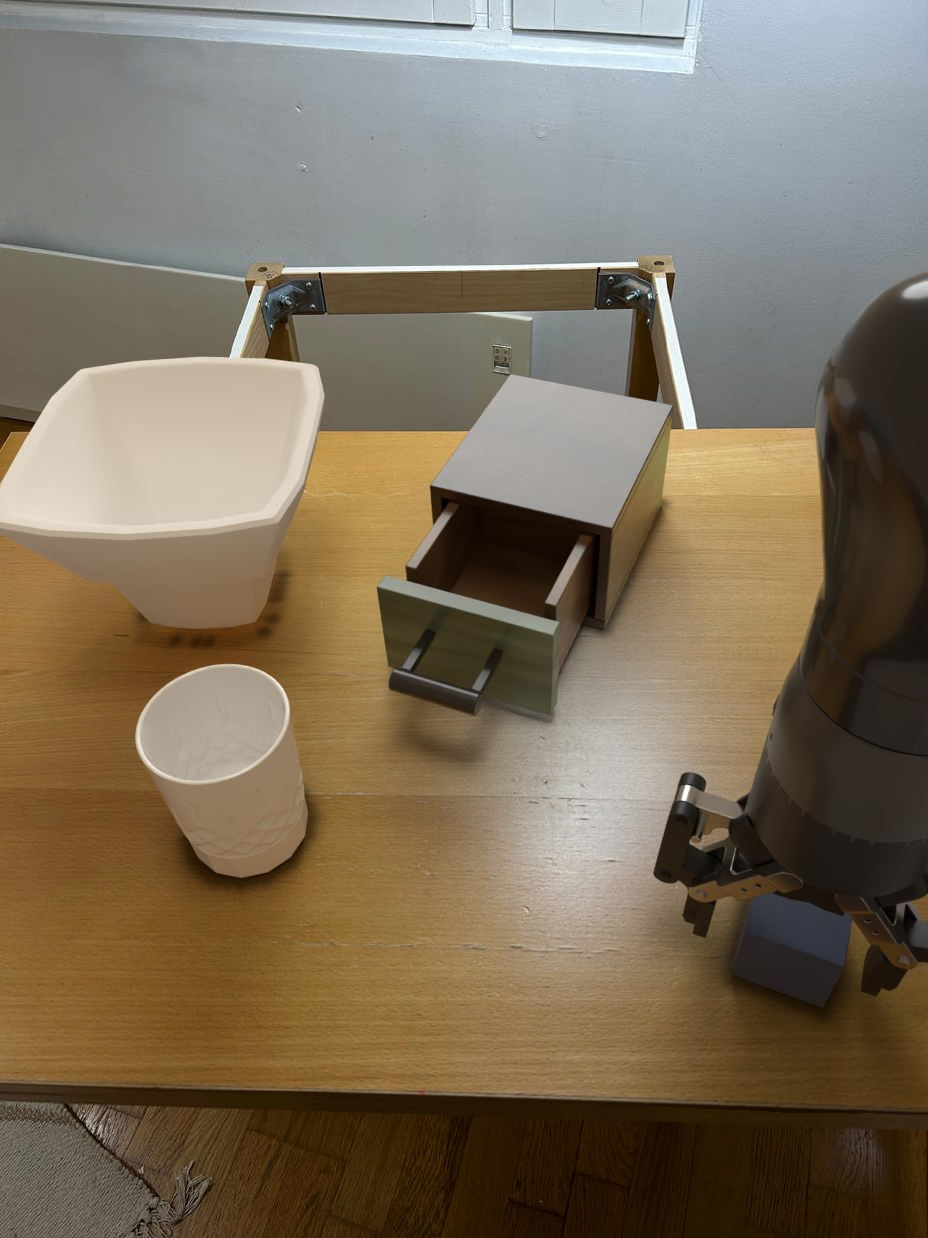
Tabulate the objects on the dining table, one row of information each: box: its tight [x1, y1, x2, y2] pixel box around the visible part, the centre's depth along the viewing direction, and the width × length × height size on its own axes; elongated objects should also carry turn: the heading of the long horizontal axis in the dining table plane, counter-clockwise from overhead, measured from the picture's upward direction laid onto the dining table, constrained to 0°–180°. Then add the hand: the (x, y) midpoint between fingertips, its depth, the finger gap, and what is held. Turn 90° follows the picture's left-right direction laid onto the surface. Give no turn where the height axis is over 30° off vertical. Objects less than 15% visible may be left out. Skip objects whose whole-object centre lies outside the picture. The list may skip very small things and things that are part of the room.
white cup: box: [134, 663, 309, 879], centre depth 54 cm, size 8×8×10 cm
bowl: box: [0, 356, 326, 630], centre depth 67 cm, size 19×19×14 cm
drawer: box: [376, 500, 600, 717], centre depth 63 cm, size 18×11×7 cm, turn 157°
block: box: [730, 892, 854, 1009], centre depth 49 cm, size 5×5×5 cm
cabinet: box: [429, 373, 675, 631], centre depth 71 cm, size 15×13×9 cm
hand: (784, 948), depth 50 cm, fingers open, 8 cm apart
